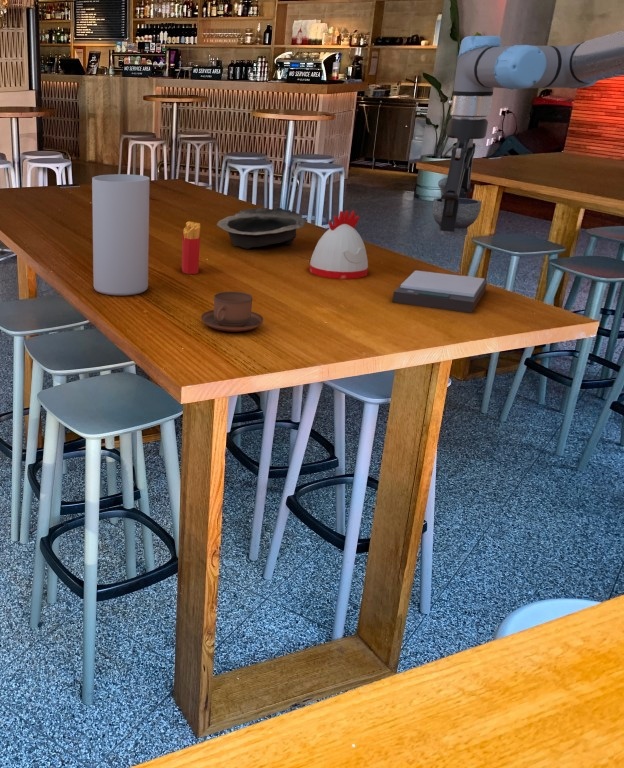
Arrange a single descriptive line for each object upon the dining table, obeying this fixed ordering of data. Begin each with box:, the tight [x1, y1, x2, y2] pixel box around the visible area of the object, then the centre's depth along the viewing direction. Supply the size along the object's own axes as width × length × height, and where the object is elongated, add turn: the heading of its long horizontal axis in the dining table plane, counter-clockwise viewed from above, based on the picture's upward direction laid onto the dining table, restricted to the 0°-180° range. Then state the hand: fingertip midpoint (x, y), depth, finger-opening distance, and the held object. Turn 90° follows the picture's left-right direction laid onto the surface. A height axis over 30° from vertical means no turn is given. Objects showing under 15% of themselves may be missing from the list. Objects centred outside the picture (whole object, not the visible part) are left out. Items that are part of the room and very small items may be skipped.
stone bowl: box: [216, 207, 308, 250], centre depth 224 cm, size 25×25×9 cm
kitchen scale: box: [392, 270, 488, 314], centre depth 175 cm, size 20×16×3 cm
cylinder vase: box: [91, 173, 151, 297], centre depth 177 cm, size 12×12×25 cm
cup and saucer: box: [200, 291, 264, 333], centre depth 154 cm, size 12×12×6 cm
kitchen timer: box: [309, 210, 369, 280], centre depth 194 cm, size 14×14×15 cm
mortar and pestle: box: [432, 177, 482, 237], centre depth 168 cm, size 11×9×12 cm
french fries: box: [181, 220, 201, 275], centre depth 195 cm, size 8×4×12 cm, turn 2°
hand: (451, 226), depth 171 cm, fingers closed on mortar and pestle, 10 cm apart
